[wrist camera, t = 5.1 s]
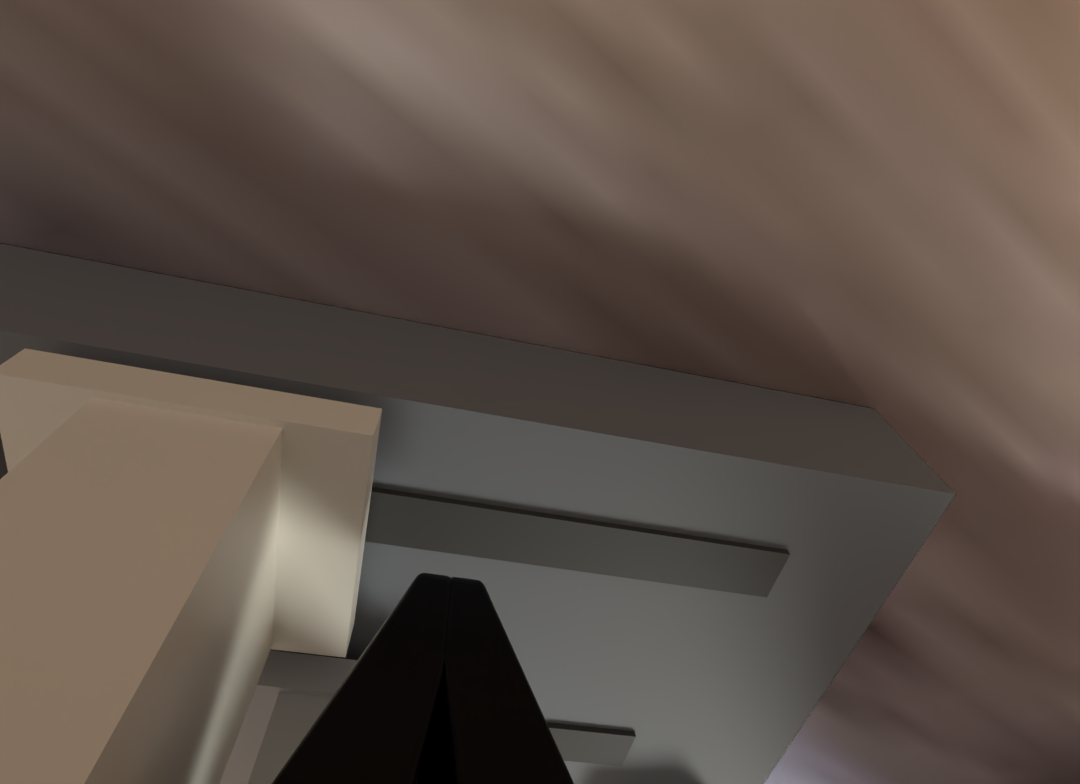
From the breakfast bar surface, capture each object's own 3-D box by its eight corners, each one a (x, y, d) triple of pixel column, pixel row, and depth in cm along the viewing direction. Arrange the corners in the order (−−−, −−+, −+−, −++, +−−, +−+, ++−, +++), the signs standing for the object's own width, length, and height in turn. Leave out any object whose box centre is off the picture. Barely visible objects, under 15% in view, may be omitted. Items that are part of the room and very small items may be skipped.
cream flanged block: (382, 409, 8) (244, 830, 4) (354, 623, 10) (239, 1073, 6) (25, 348, 7) (-599, 766, 3) (64, 588, 9) (-305, 1060, 5)
